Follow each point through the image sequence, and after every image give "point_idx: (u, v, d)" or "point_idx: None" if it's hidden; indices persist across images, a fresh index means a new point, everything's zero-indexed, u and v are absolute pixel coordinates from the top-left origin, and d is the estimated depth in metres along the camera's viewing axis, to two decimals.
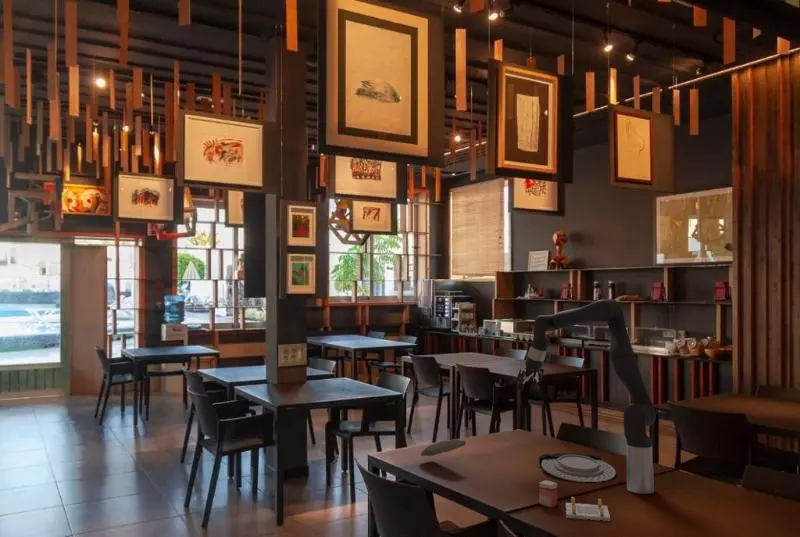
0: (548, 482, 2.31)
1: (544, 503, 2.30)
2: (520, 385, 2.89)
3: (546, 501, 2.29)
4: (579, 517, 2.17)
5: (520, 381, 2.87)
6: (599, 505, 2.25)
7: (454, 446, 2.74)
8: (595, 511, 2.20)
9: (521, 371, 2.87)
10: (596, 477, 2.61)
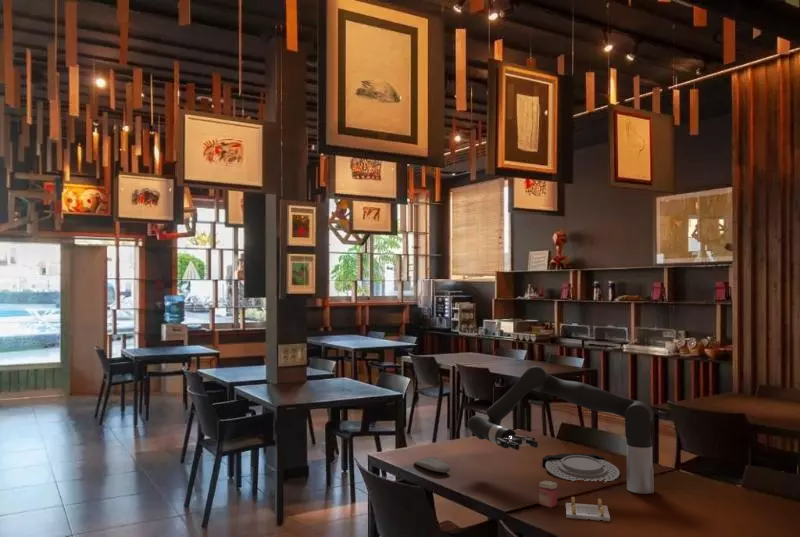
0: (548, 482, 2.31)
1: (544, 503, 2.30)
2: (511, 444, 2.42)
3: (546, 501, 2.29)
4: (579, 517, 2.17)
5: (503, 441, 2.43)
6: (599, 505, 2.25)
7: None
8: (595, 511, 2.20)
9: (497, 442, 2.47)
10: (601, 478, 2.61)
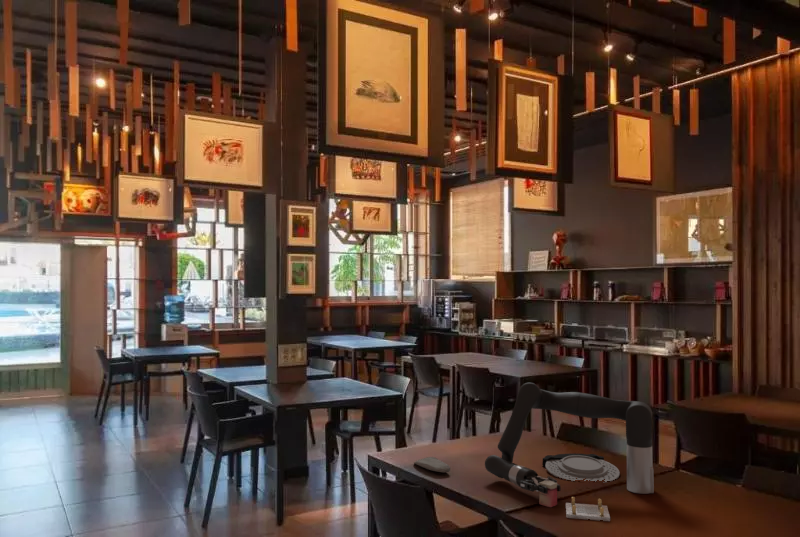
0: (548, 482, 2.31)
1: (544, 503, 2.30)
2: (539, 487, 2.29)
3: (546, 501, 2.29)
4: (579, 517, 2.17)
5: (531, 484, 2.31)
6: (599, 505, 2.25)
7: None
8: (595, 511, 2.20)
9: (521, 485, 2.34)
10: (601, 478, 2.61)
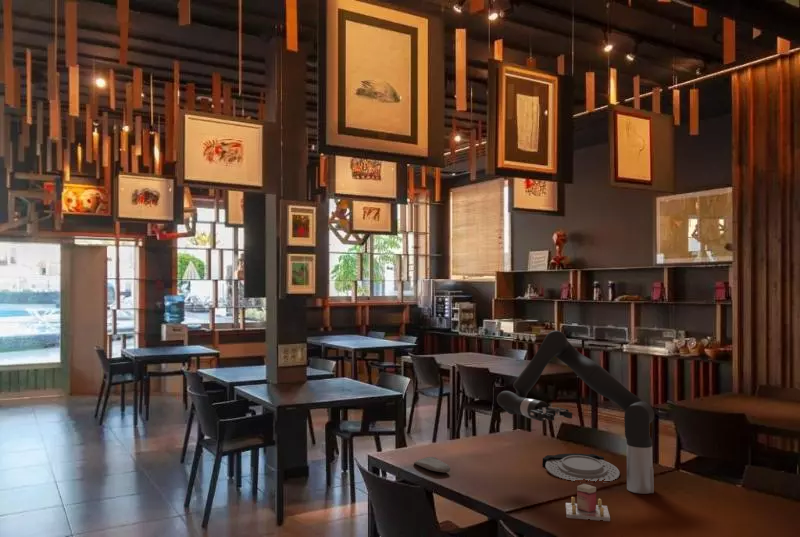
0: (586, 486, 2.23)
1: (582, 507, 2.21)
2: (546, 415, 2.38)
3: (584, 505, 2.21)
4: (579, 517, 2.17)
5: (538, 412, 2.40)
6: (599, 505, 2.25)
7: None
8: (595, 511, 2.20)
9: (531, 413, 2.43)
10: (601, 478, 2.61)
